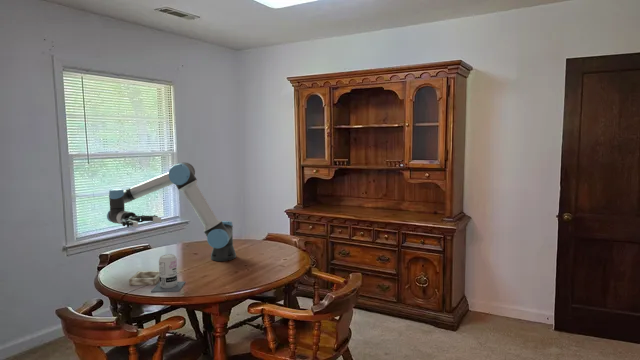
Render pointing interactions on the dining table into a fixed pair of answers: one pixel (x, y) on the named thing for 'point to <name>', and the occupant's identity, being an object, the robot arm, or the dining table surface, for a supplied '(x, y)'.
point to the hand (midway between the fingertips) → (149, 222)
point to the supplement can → (168, 271)
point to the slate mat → (173, 289)
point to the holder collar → (145, 278)
